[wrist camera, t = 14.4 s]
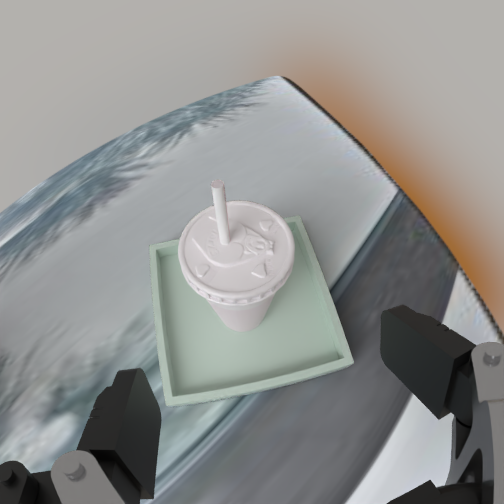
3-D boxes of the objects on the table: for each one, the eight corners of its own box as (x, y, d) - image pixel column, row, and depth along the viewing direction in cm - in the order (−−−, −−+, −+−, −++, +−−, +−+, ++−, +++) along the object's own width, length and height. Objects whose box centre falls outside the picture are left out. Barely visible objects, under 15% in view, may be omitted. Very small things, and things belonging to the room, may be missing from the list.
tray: (174, 407, 21) (166, 405, 19) (155, 257, 28) (149, 245, 26) (346, 368, 22) (354, 362, 20) (297, 229, 29) (299, 215, 27)
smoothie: (211, 271, 26) (180, 138, 14) (285, 279, 26) (308, 146, 14) (196, 341, 23) (134, 240, 11) (277, 353, 22) (305, 259, 10)
